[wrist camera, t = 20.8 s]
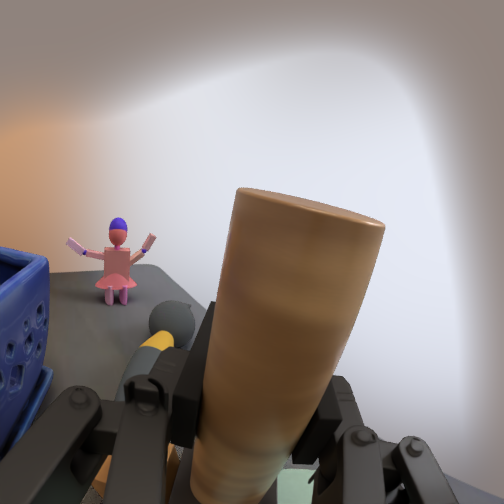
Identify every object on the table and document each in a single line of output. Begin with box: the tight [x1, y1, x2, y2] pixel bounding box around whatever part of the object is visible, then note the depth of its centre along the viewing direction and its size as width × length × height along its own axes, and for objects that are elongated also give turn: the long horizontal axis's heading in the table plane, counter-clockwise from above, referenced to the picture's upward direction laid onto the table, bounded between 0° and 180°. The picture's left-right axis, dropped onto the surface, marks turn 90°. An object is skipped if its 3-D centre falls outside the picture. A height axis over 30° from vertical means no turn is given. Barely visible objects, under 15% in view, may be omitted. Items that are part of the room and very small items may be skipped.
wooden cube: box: [91, 443, 180, 504], centre depth 11 cm, size 4×4×4 cm
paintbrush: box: [115, 301, 195, 401], centre depth 23 cm, size 20×5×5 cm, turn 3°
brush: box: [168, 188, 385, 504], centre depth 9 cm, size 5×5×16 cm
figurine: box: [66, 218, 156, 305], centre depth 33 cm, size 3×12×11 cm, turn 124°
